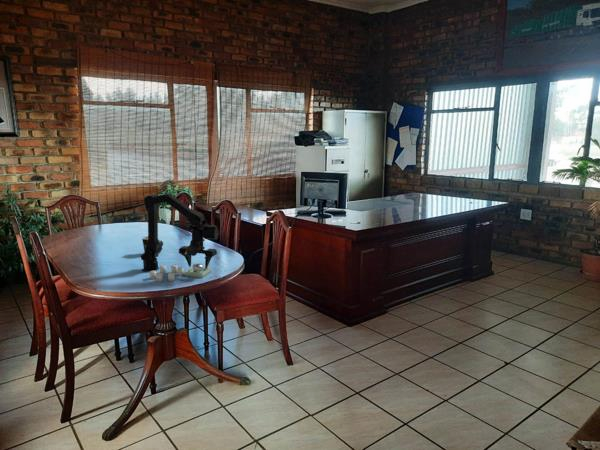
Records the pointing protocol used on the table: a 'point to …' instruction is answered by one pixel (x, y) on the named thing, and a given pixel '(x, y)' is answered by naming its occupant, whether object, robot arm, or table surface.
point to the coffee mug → (146, 242)
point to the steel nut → (198, 268)
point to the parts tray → (199, 275)
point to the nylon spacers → (163, 270)
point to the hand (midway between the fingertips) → (198, 267)
